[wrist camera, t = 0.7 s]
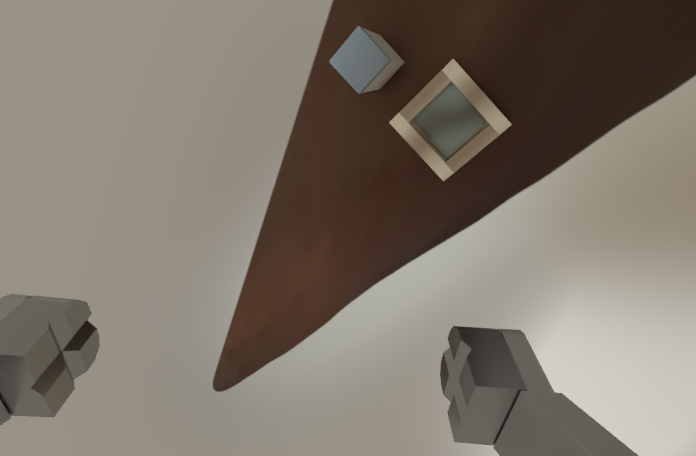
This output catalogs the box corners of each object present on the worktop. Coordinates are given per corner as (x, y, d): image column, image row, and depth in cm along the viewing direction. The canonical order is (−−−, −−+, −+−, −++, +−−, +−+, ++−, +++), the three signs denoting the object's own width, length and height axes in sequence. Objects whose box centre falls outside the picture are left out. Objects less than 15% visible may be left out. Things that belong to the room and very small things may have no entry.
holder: (508, 120, 43) (511, 124, 40) (445, 174, 47) (443, 181, 44) (454, 59, 42) (453, 58, 39) (394, 118, 46) (389, 122, 43)
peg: (405, 62, 44) (389, 60, 35) (379, 89, 45) (358, 94, 36) (380, 35, 43) (358, 25, 34) (355, 63, 45) (328, 61, 36)
